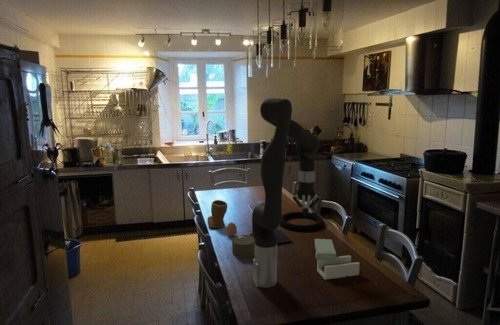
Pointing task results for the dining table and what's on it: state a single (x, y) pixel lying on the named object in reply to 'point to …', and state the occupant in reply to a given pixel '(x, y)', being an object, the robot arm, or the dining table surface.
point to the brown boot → (217, 214)
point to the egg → (231, 229)
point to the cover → (324, 249)
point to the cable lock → (302, 227)
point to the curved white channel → (337, 267)
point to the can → (243, 246)
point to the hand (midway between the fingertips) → (305, 215)
